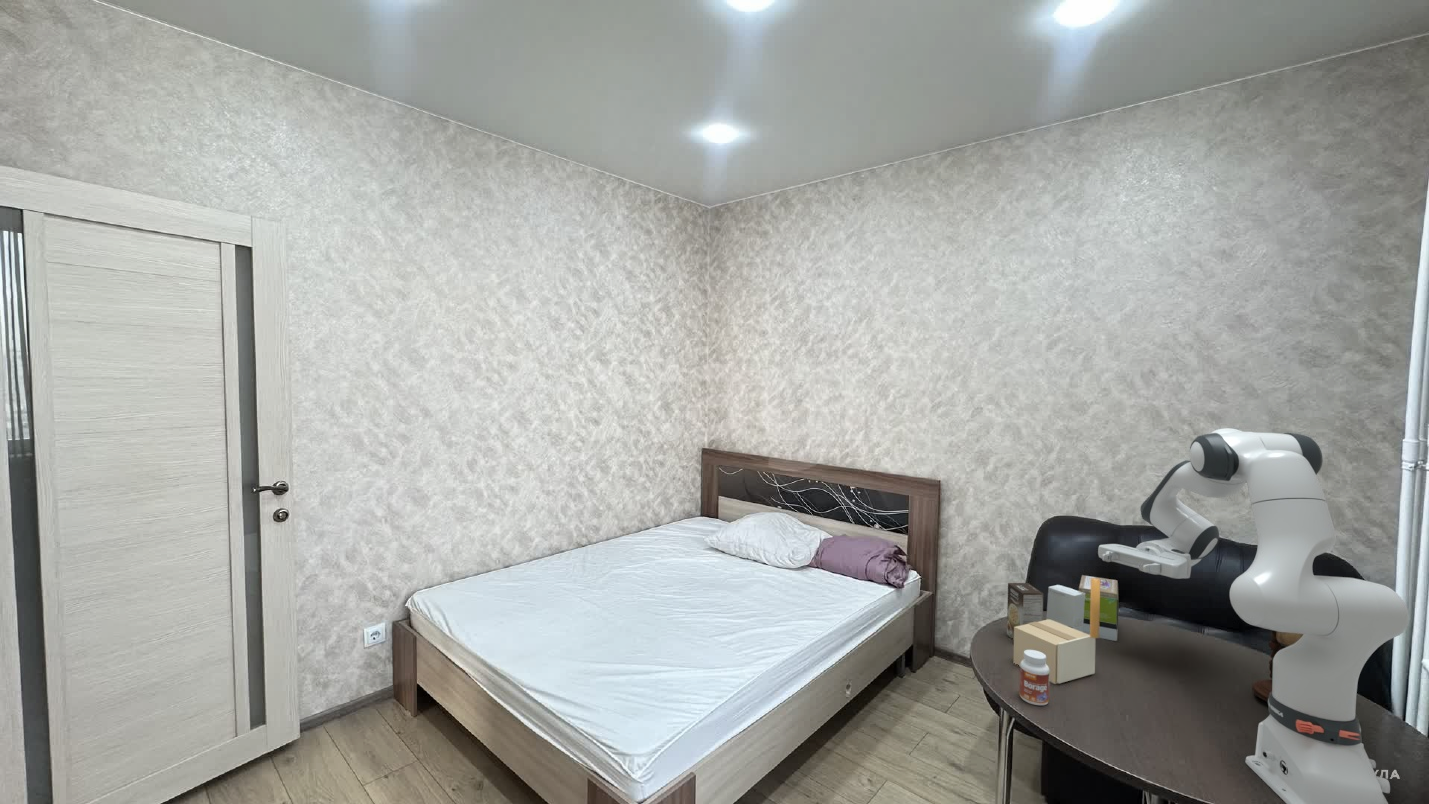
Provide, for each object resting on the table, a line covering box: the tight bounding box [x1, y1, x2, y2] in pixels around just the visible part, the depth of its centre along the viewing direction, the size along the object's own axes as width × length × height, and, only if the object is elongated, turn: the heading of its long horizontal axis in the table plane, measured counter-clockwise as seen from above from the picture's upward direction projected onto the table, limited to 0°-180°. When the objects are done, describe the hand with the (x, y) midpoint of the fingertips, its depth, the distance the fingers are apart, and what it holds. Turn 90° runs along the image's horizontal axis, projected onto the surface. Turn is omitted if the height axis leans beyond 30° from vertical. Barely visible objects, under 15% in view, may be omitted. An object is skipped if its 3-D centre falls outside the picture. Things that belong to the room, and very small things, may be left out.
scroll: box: [1251, 630, 1303, 703], centre depth 135 cm, size 15×15×20 cm
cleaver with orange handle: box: [1057, 578, 1100, 684], centre depth 146 cm, size 2×14×25 cm, turn 113°
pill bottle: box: [1019, 650, 1050, 706], centre depth 137 cm, size 6×6×11 cm
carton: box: [1013, 619, 1089, 685], centre depth 153 cm, size 12×14×10 cm
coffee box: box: [1006, 582, 1044, 641], centre depth 170 cm, size 9×6×16 cm
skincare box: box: [1045, 584, 1085, 632], centre depth 172 cm, size 8×6×15 cm
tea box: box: [1078, 574, 1119, 642], centre depth 178 cm, size 15×10×15 cm, turn 144°
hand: (1122, 563), depth 153 cm, fingers open, 8 cm apart
